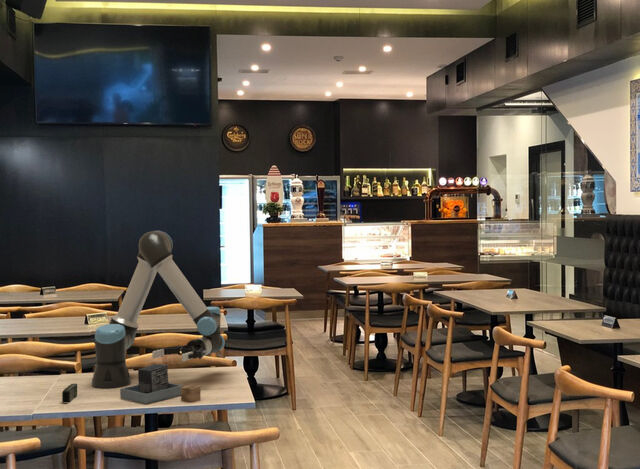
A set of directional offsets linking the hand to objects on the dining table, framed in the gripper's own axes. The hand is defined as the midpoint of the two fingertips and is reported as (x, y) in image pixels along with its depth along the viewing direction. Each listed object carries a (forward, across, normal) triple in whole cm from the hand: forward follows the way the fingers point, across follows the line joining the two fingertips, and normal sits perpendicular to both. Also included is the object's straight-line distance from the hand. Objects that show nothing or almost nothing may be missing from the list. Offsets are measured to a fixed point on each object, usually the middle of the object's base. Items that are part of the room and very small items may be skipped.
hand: (167, 356), depth 294 cm
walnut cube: (+9, -17, -13) cm, 23 cm away
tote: (+10, 0, -14) cm, 17 cm away
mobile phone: (+23, +27, -15) cm, 38 cm away
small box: (+9, 0, -13) cm, 16 cm away
